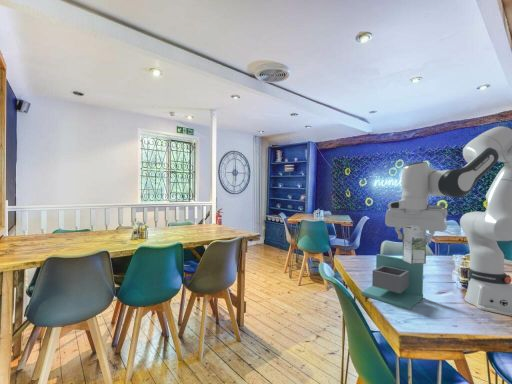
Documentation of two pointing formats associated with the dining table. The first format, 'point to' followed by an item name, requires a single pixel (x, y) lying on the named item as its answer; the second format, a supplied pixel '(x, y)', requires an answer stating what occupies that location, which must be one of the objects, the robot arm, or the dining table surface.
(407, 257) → the syrup box
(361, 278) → the dining table surface
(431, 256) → the dining table surface
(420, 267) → the cup bracket
